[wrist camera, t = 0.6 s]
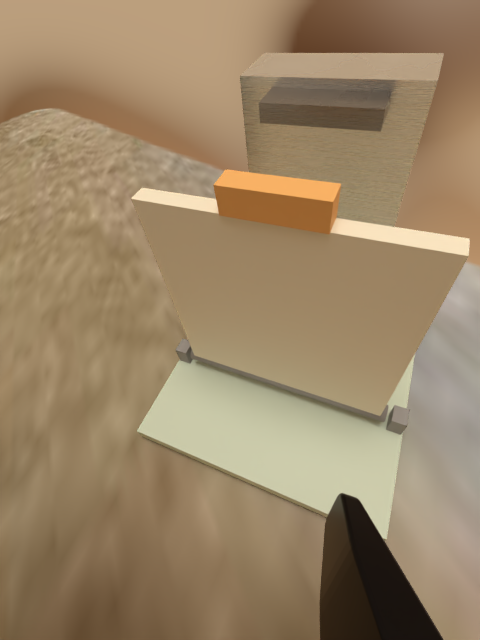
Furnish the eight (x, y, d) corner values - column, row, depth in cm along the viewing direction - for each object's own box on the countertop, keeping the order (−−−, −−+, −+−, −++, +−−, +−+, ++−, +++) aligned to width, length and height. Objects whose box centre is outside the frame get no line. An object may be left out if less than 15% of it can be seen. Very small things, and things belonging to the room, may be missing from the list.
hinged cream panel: (382, 424, 20) (500, 225, 9) (192, 361, 24) (111, 170, 13) (385, 409, 20) (500, 203, 9) (198, 349, 24) (126, 157, 13)
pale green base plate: (382, 541, 18) (393, 536, 16) (142, 436, 22) (128, 422, 21) (420, 301, 27) (430, 280, 25) (243, 263, 31) (240, 243, 30)
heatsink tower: (359, 343, 24) (433, 98, 12) (253, 315, 26) (224, 90, 14) (372, 295, 26) (444, 53, 14) (273, 274, 29) (263, 53, 17)
